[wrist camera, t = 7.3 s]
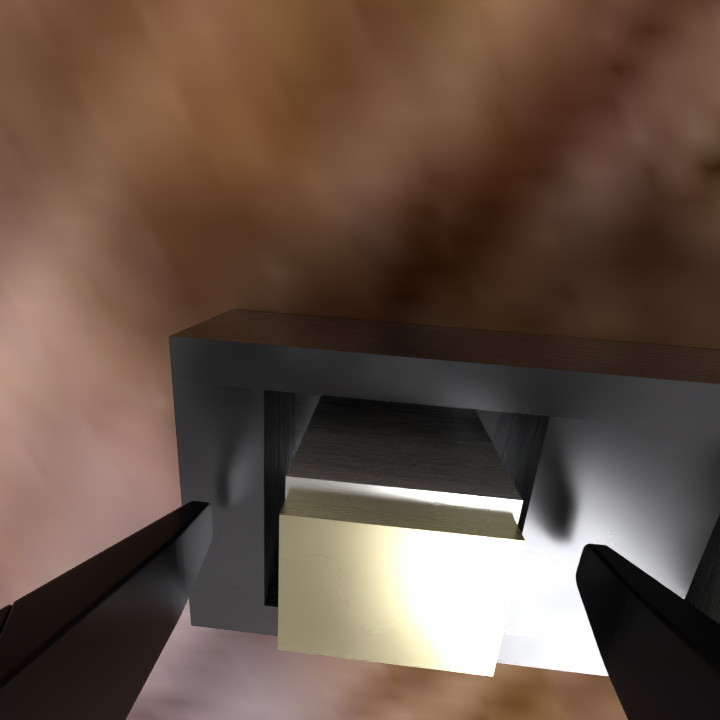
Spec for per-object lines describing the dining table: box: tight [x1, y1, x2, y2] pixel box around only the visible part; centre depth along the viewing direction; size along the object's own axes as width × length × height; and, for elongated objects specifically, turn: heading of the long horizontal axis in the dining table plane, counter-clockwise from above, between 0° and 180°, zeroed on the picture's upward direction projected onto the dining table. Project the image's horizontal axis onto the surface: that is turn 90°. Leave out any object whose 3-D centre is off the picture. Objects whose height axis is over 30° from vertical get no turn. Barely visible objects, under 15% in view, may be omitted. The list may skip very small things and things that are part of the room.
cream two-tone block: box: [278, 395, 525, 676], centre depth 9 cm, size 4×4×5 cm
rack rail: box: [169, 309, 720, 676], centre depth 10 cm, size 20×8×4 cm, turn 86°
